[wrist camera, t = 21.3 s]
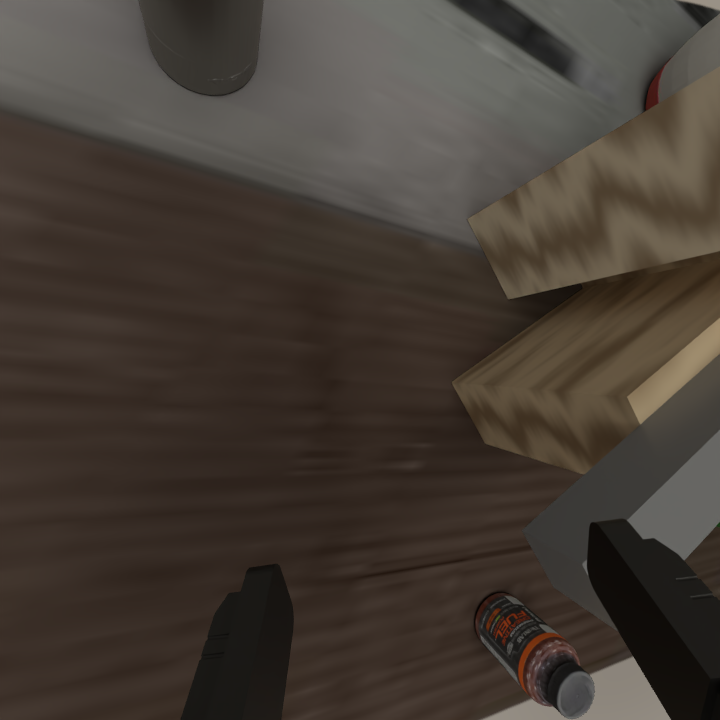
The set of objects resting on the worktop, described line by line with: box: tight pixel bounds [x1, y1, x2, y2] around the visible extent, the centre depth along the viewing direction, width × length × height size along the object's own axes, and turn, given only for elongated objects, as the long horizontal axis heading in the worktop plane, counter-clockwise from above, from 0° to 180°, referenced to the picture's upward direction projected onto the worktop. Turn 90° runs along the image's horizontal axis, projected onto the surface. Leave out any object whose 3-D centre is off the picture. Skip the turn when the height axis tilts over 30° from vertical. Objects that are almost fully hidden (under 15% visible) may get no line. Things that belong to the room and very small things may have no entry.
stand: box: [451, 67, 720, 474], centre depth 32 cm, size 22×27×32 cm
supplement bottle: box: [475, 593, 595, 719], centre depth 40 cm, size 6×6×11 cm
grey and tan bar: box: [522, 354, 720, 631], centre depth 24 cm, size 6×26×4 cm, turn 122°
